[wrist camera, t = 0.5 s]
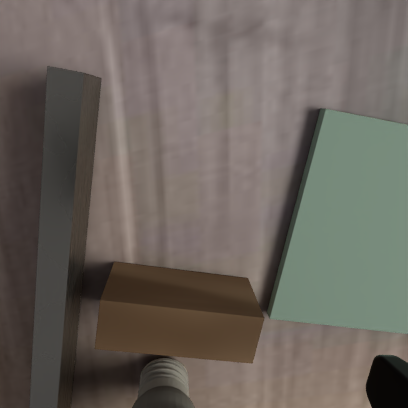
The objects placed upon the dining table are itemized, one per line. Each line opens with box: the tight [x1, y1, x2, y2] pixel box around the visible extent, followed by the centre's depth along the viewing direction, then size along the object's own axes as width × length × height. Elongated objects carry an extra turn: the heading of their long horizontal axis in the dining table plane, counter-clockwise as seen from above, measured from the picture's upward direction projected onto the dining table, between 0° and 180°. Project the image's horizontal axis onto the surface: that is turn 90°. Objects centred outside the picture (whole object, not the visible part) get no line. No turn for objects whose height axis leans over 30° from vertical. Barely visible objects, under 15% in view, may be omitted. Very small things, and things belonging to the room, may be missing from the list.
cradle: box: [95, 262, 264, 363], centre depth 18 cm, size 13×7×4 cm, turn 170°
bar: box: [29, 66, 101, 408], centre depth 17 cm, size 25×2×3 cm, turn 170°
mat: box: [267, 109, 408, 334], centre depth 18 cm, size 11×10×1 cm
